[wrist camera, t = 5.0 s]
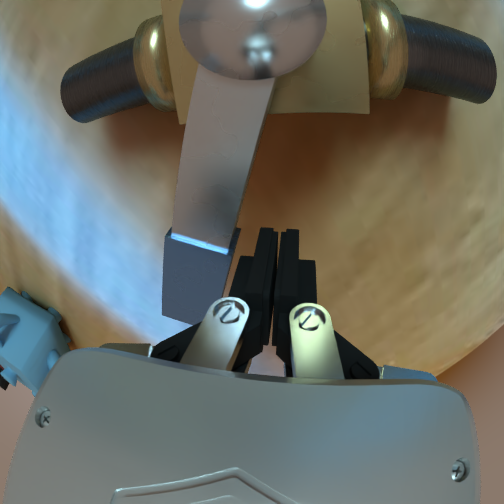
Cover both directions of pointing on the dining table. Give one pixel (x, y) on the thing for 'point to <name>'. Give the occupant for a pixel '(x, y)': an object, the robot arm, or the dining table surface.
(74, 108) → the ball valve
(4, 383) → the deodorant
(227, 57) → the valve lever
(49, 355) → the teakettle
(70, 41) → the dining table surface
